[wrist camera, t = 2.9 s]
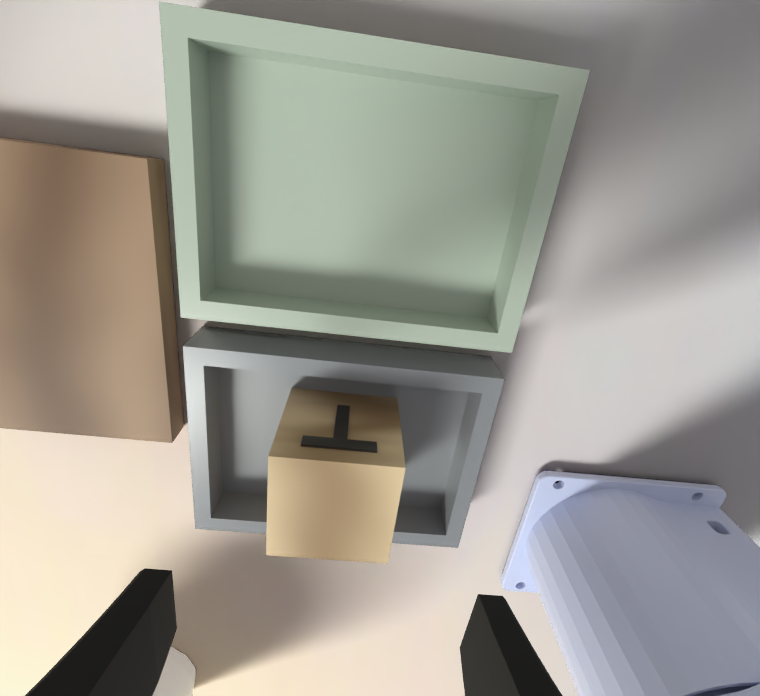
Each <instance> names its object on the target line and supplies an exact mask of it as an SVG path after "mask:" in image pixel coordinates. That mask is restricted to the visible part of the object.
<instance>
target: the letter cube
mask: <svg viewBox="0 0 760 696" xmlns="http://www.w3.org/2000/svg"><path fill="white" fill-rule="evenodd" d="M405 469H406V467H405V458H404V450H403V441H402V433H401V424H400V416H399V407H398V399H397V398H393V397H382V396H372V395H362V394H352V393H341V392H331V391H321V390H310V389H300V388H291V391H290V394H289V397H288V400H287V403H286V405H285V408H284V411H283V414H282V417H281V420H280V423H279V426H278V429H277V432H276V435H275V438H274V441H273V444H272V447H271V449H270V452H269V455H268V486H267V530H266V555H271V556H285V557H300V558H314V559H329V560H344V561H358V562H373V563H387V564H388V559H389V554H390V549H391V543H392V538H393V533H394V527H395V522H396V517H397V511H398V506H399V501H400V495H401V490H402V485H403V479H404V474H405Z"/></svg>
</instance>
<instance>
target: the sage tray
mask: <svg viewBox="0 0 760 696" xmlns="http://www.w3.org/2000/svg"><path fill="white" fill-rule="evenodd" d="M159 9H160V24H161V38H162V53H163V67H164V82H165V96H166V111H167V125H168V140H169V154H170V169H171V183H172V198H173V212H174V227H175V241H176V256H177V270H178V285H179V299H180V314H181V318H190V319H199V320H209V321H218V322H227V323H237V324H246V325H255V326H265V327H274V328H283V329H293V330H302V331H312V332H321V333H330V334H340V335H349V336H358V337H368V338H377V339H386V340H396V341H405V342H414V343H424V344H433V345H442V346H452V347H461V348H470V349H480V350H489V351H499V352H508V353H512V351H513V347H514V344H515V340H516V336H517V333H518V329H519V326H520V322H521V318H522V315H523V311H524V308H525V304H526V300H527V297H528V293H529V290H530V286H531V282H532V279H533V275H534V271H535V268H536V264H537V261H538V257H539V253H540V250H541V246H542V243H543V239H544V235H545V232H546V228H547V225H548V221H549V217H550V214H551V210H552V206H553V203H554V199H555V196H556V192H557V188H558V185H559V181H560V178H561V174H562V170H563V167H564V163H565V160H566V156H567V152H568V149H569V145H570V141H571V138H572V134H573V131H574V127H575V123H576V120H577V116H578V113H579V109H580V105H581V102H582V98H583V95H584V91H585V87H586V84H587V80H588V76H589V73H590V70H587V69H580V68H574V67H568V66H562V65H555V64H549V63H543V62H536V61H530V60H524V59H517V58H511V57H505V56H499V55H492V54H486V53H480V52H473V51H467V50H461V49H455V48H448V47H442V46H436V45H429V44H423V43H417V42H410V41H404V40H398V39H392V38H385V37H379V36H373V35H366V34H360V33H354V32H348V31H341V30H335V29H329V28H322V27H316V26H310V25H303V24H297V23H291V22H285V21H278V20H272V19H266V18H259V17H253V16H247V15H241V14H234V13H228V12H222V11H215V10H209V9H203V8H196V7H190V6H184V5H178V4H171V3H165V2H159Z"/></svg>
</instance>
